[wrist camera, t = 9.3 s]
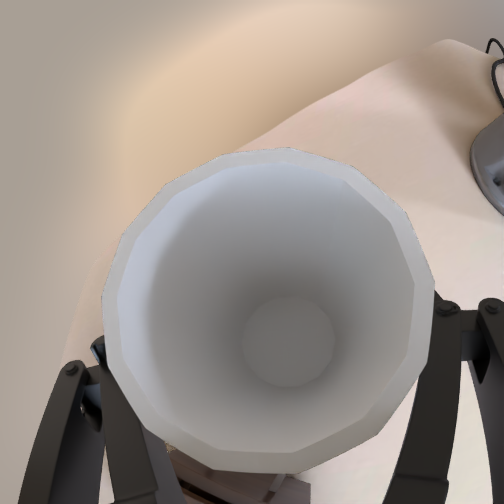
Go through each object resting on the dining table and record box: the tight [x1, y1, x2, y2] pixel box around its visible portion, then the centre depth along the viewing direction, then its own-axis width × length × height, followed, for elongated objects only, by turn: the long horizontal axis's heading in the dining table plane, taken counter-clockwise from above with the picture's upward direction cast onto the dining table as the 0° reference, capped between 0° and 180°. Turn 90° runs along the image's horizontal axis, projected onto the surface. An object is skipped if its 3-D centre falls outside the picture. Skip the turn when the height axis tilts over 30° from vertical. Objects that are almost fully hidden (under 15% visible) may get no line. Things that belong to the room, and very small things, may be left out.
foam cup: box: [101, 147, 435, 474], centre depth 14 cm, size 10×9×13 cm
